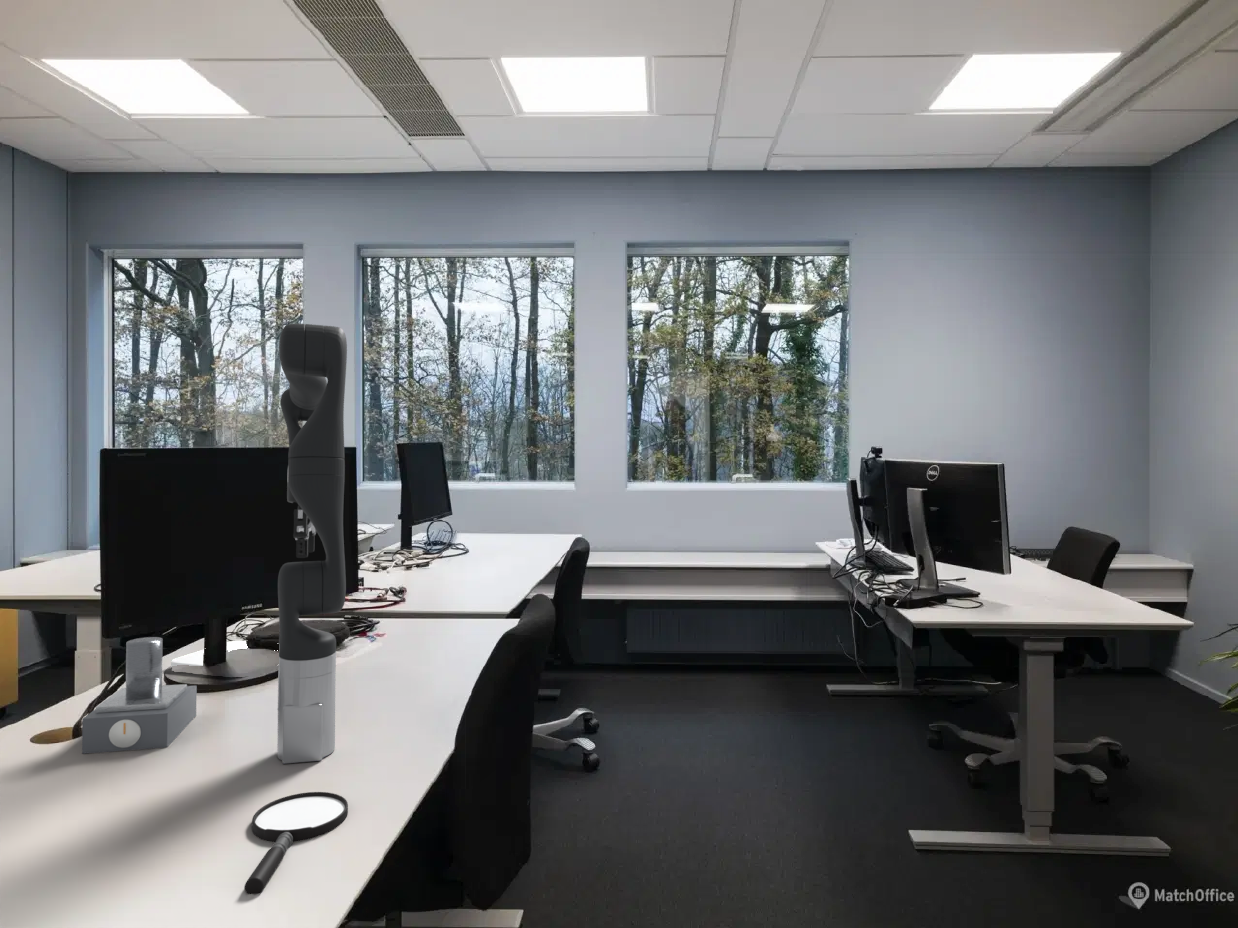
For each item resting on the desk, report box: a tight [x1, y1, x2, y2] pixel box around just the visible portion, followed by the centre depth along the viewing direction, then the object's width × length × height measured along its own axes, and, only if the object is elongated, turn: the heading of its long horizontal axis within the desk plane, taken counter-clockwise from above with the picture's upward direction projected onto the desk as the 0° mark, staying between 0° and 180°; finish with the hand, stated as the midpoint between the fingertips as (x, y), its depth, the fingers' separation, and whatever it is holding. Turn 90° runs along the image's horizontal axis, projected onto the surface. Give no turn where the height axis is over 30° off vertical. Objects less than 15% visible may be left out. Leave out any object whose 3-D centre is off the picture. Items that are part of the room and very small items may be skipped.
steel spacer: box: [125, 636, 164, 700], centre depth 133 cm, size 6×6×10 cm
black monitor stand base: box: [170, 640, 278, 668], centre depth 180 cm, size 22×22×3 cm
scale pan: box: [95, 683, 188, 713], centre depth 133 cm, size 11×11×1 cm
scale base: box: [81, 685, 198, 754], centre depth 133 cm, size 16×13×6 cm
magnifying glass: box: [244, 791, 349, 895], centre depth 97 cm, size 12×24×2 cm, turn 7°
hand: (305, 554), depth 157 cm, fingers open, 8 cm apart
